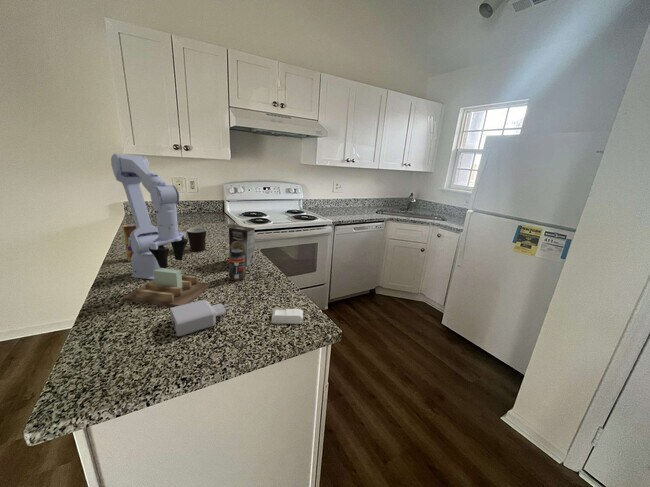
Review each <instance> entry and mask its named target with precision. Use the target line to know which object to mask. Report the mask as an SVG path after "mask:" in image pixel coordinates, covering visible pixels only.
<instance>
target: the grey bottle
mask: <svg viewBox="0 0 650 487" xmlns="http://www.w3.org/2000/svg"><path fill="white" fill-rule="evenodd" d="M231 308H232V307H231V306H230V304H224V305H223V303H217V304H213V305H212V304H211V303H210V302H209V301H208V300H206V299H202V300H201V299H200V300H198V301H197V300H196V301H192V302H190V303H189V304H185V305H180V306H176V307H169V312H170V321H171V323H172V326H173V328H174V330H175V332H176V335H177V337H178V338H179V337H182V336H185V335H188V334H191V333H195V332H198V331H202V330H205V329H207V328H211V327H214V326H215V324H216V323H217V318H216V317H219V316H223V315H226V314H227V311H226V310H230V309H231Z"/></svg>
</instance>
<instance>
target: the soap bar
mask: <svg viewBox="0 0 650 487" xmlns="http://www.w3.org/2000/svg"><path fill="white" fill-rule="evenodd" d="M303 322H304V310H303V309H301V308H274V309H273V310H272V315H271V322H270V323H271V324H290V325H291V324H292V325H293V324H295V325H296V324H298V325H301V324H302V325H303Z"/></svg>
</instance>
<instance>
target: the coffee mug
mask: <svg viewBox="0 0 650 487" xmlns="http://www.w3.org/2000/svg"><path fill="white" fill-rule="evenodd" d="M186 234H187V239H188V243H189V248H190V251H191V252H192V253H193V252H194V253H199V252H203V251H206V244H207V243H206V241H207V229H206V228H205V227H204V228H202V227H194V228H193V227H192V228H188V229H186Z"/></svg>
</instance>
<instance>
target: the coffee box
mask: <svg viewBox="0 0 650 487" xmlns="http://www.w3.org/2000/svg"><path fill="white" fill-rule="evenodd" d="M255 230H256V228H255V227H249V226H244V225H234V226H233V225H232V226H230V227H228V244H229V245H228V246H229V248H228V249H229V252H228V253H229V257H230V256H231V255H232V254H231V251H232V250H234V249H240V250H242V253H243V255H244V256H245V267H248V266H250V265H252V264H253V263H255Z"/></svg>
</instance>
